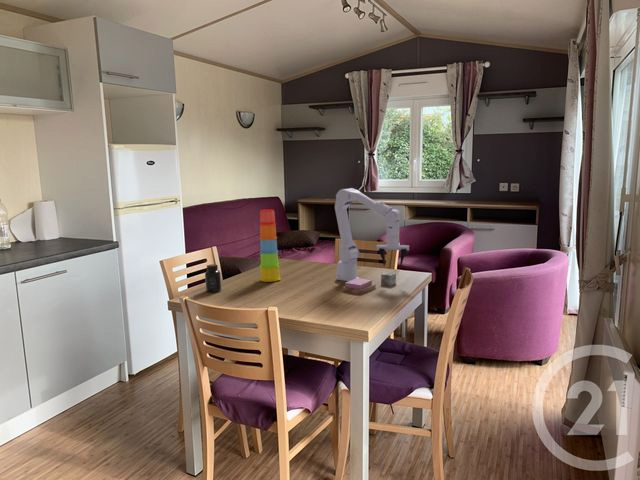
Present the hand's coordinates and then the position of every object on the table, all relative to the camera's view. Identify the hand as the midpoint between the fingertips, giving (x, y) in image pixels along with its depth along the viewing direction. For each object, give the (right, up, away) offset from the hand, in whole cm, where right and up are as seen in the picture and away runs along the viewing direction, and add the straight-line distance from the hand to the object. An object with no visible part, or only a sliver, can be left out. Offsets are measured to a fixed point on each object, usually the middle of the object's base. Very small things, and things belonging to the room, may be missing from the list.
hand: (392, 265), depth 223 cm
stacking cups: (-58, -8, +16) cm, 61 cm away
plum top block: (-16, -9, -5) cm, 19 cm away
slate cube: (-1, -9, +4) cm, 10 cm away
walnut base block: (-16, -11, -4) cm, 20 cm away
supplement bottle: (-82, -12, -1) cm, 83 cm away
